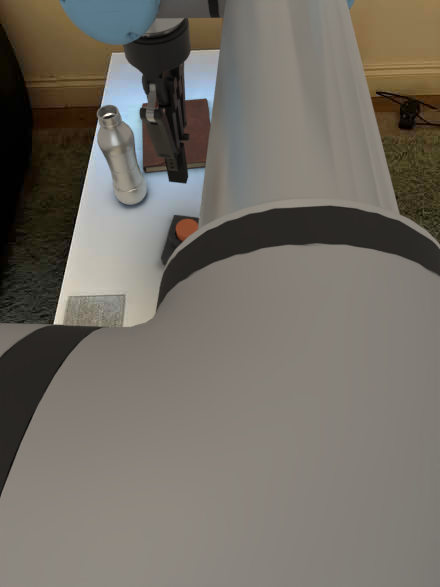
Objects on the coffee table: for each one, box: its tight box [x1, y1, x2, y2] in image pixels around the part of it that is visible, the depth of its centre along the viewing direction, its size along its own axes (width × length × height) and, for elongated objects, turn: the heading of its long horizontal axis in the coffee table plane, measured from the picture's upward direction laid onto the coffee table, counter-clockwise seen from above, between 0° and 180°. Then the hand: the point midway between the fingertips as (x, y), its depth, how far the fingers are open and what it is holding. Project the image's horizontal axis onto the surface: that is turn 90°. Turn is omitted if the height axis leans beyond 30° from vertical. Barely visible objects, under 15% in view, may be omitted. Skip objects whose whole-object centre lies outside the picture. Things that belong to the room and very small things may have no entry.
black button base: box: [160, 214, 199, 266], centre depth 82 cm, size 10×8×4 cm
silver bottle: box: [96, 104, 148, 206], centre depth 81 cm, size 6×7×20 cm
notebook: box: [141, 98, 211, 174], centre depth 97 cm, size 15×20×2 cm
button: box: [176, 219, 198, 242], centre depth 80 cm, size 4×4×2 cm
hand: (178, 179), depth 68 cm, fingers closed
